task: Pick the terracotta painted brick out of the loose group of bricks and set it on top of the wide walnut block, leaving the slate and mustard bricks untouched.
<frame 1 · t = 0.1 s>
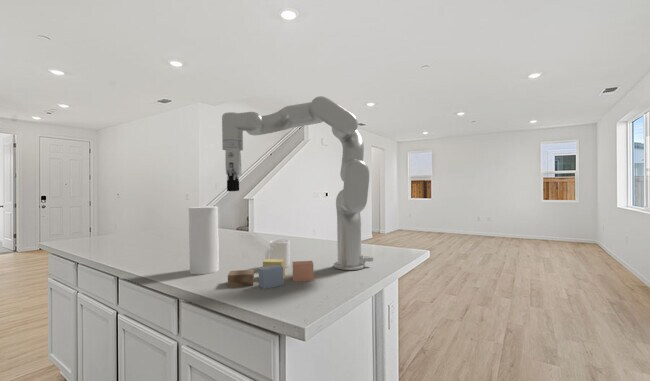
hand: (233, 191, 124), 31 cm above the counter, fingers open, 9 cm apart
mustard brick: (274, 277, 118), on the counter
walnut block: (241, 284, 110), on the counter
mug: (276, 267, 132), on the counter
slate brick: (271, 285, 108), on the counter
terracotta brick: (303, 279, 115), on the counter
tall pillar cylinder: (204, 271, 128), on the counter
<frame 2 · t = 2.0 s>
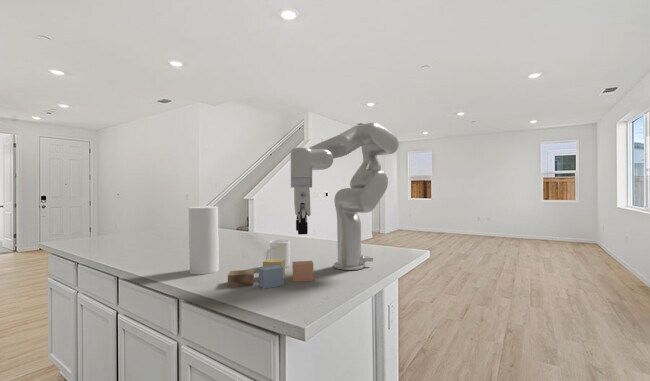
hand: (301, 232, 114), 17 cm above the counter, fingers open, 9 cm apart
nothing on the counter moved.
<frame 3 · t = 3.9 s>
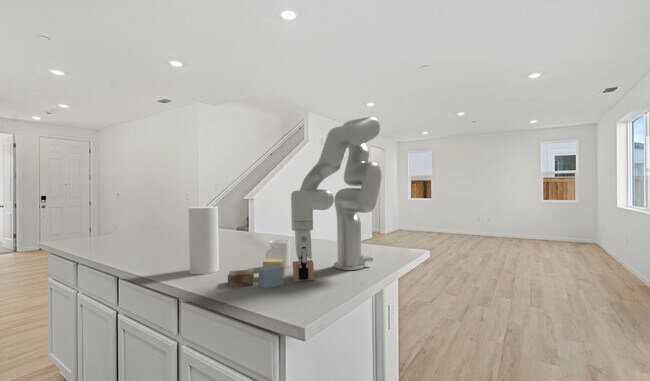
hand: (303, 277, 115), 1 cm above the counter, fingers closed on terracotta brick, 3 cm apart
terracotta brick: (303, 279, 115), on the counter, touching gripper
everything else where it was.
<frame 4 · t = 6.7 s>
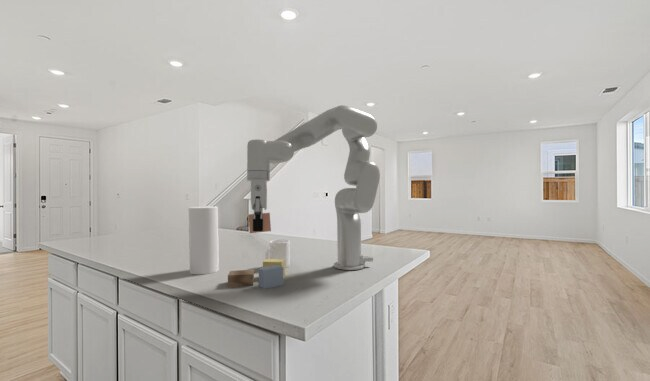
hand: (258, 229, 111), 18 cm above the counter, fingers closed on terracotta brick, 4 cm apart
terracotta brick: (260, 231, 111), point 17 cm above the counter, touching gripper
everything else where it was.
when the fingers open (6 cm above the counter, at t = 9.7 s): terracotta brick drops 1 cm, resting on walnut block.
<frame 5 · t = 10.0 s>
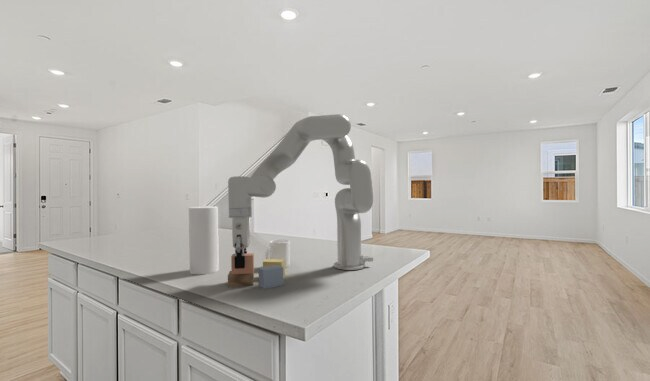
hand: (241, 264, 110), 6 cm above the counter, fingers open, 7 cm apart
walnut block: (241, 284, 110), on the counter, touching terracotta brick
terracotta brick: (243, 272, 110), point 4 cm above the counter, touching walnut block
everything else where it was.
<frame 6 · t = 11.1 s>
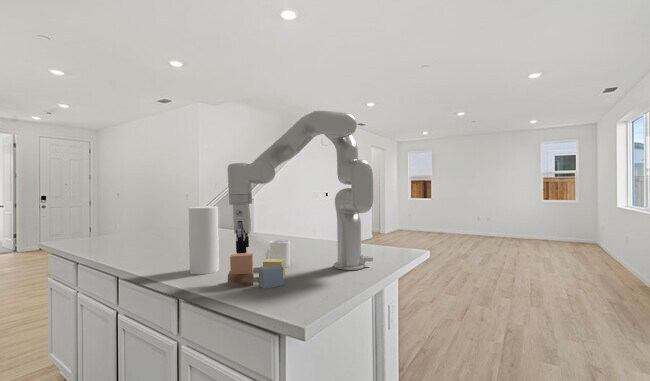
hand: (242, 250, 111), 11 cm above the counter, fingers open, 9 cm apart
nothing on the counter moved.
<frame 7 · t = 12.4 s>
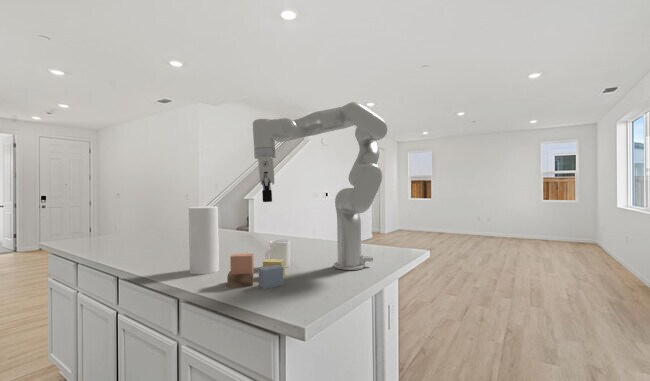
hand: (267, 201, 118), 27 cm above the counter, fingers open, 9 cm apart
nothing on the counter moved.
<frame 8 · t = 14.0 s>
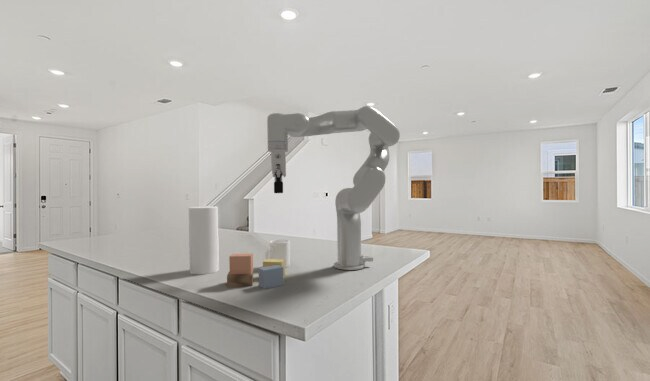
hand: (278, 192, 123), 30 cm above the counter, fingers open, 9 cm apart
nothing on the counter moved.
at the end: terracotta brick 0.4 cm off-centre on the walnut block, point 4.0 cm above the walnut block's base; slate brick moved 0.1 cm from its start; mustard brick moved 0.1 cm from its start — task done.
